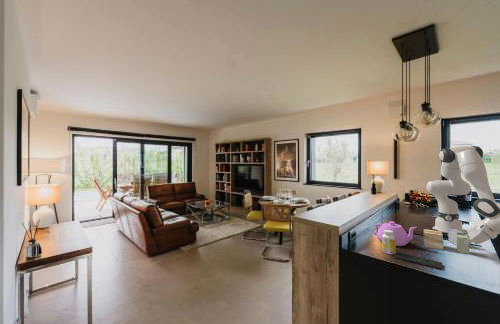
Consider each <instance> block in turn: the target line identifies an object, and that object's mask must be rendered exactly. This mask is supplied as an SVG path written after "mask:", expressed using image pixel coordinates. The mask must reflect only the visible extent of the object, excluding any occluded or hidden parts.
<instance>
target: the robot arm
mask: <svg viewBox="0 0 500 324" xmlns="http://www.w3.org/2000/svg"><path fill="white" fill-rule="evenodd" d="M483 157H484V151H483V149H482V148H481V147H480V146H477V145H469V146H468V145H465V146H464V145H462V146H454V147H446V148H445V147H444V148H441V149H440V150H439V153H438V158H439V161H441V166H440V172H439V173H440V175H441V176H442V177H444V178H445V179H447V180H445V179H444V180H441V179H438V180H437V179H436V180H430V181H428V182H427V183H426V185H425V187H426V191H427V192H428V193H429V194H431V195H432V196H434V198H435V199H436V201H437V206H438V207H437V209H438V211H437V217H436V218H435V221H434V222H435V223H434V226H433V227H432V229H431V230H435V231H441V232H442V233H447V234H448V229H456V230H459V231H461V232H464V233H465V236H468V238H469V239H467V240H465V241H463V243H464V244H465V245H467V244H469V245H470V244H475V245H481V244H483V243H485V242H487V241H489V240H494V239H496V238H497V237H498V235H500V203H499V202H497V200H496V198H495V197H494V194H493V191H492V190H491V187H490V184H489V177H488V173H487V168H486V165H485V162H484V160H483ZM462 176H463V177H462ZM463 178H464V179H465V180H464V179H463ZM467 181H468V182H467ZM469 183H470V184H469ZM471 185H472V186H473V188H474V190H475V191H476V194H477V196H478V198H477V199H476V200H475V201H474V202H473V204H472V207H473V209H474V211H475V212H476V213H477V214H479V215H480V216H482V218H484V219H482V220H480V221H478V222H477V223H476V225H475V226H473V227H471V228H470V229H468V230H466V231H465V230H464V229H463V222H462V221H461V220H460V214H459V204H458V203H457V201H455V200H453V199H451V198H449V197H448V195H449V196H465V195H469V194H470V192H471V191H472V187H471ZM466 232H467V233H466Z"/></svg>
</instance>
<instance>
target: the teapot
mask: <svg viewBox="0 0 500 324" xmlns="http://www.w3.org/2000/svg"><path fill="white" fill-rule="evenodd" d="M378 226H380V227H379V229H378ZM374 227H375V231H374V235H375V236H376V237H377V239H378V240H379V242H381V243H382V235H383V234H384V230H391V231H393V236H395V243H396V247H404V246H406V245H407V244H409V242H411V240H413V238H414V230H415V229H416V228H417V226H411V227H410V228H409V230H408V234H407V231H406V230H405V229H404V227H403V226H402V225H401V224H397V223H396V222H395V221H393V220H392V221H389V222H385V223H381V222H380V223H379V222H378V223H375V226H374Z"/></svg>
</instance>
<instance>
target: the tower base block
mask: <svg viewBox="0 0 500 324" xmlns="http://www.w3.org/2000/svg"><path fill="white" fill-rule="evenodd" d="M423 246H425V248H430V249H436V250H442V251H444V242H443V243H441V242H435V241H429V240H424V239H423Z"/></svg>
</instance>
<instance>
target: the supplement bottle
mask: <svg viewBox="0 0 500 324" xmlns="http://www.w3.org/2000/svg"><path fill="white" fill-rule="evenodd" d="M396 247H397V246H396V243H395V236H393V231H391V230H384V234H383V235H382V242H381V248H382V250H381V251H382V252H383V253H384V254H387V255H395V254H396V252H397V251H396V250H397V249H396Z"/></svg>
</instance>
